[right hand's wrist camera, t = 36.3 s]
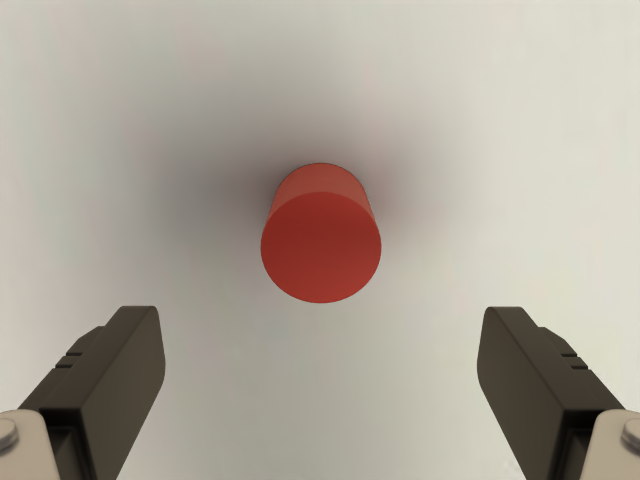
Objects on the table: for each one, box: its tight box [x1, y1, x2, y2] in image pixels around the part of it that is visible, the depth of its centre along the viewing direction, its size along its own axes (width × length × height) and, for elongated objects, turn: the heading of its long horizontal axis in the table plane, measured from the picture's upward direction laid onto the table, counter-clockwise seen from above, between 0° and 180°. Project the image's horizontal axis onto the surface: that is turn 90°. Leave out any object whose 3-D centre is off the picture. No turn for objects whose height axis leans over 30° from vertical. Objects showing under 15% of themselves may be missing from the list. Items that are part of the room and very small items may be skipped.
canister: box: [261, 163, 381, 303], centre depth 19 cm, size 4×4×5 cm
